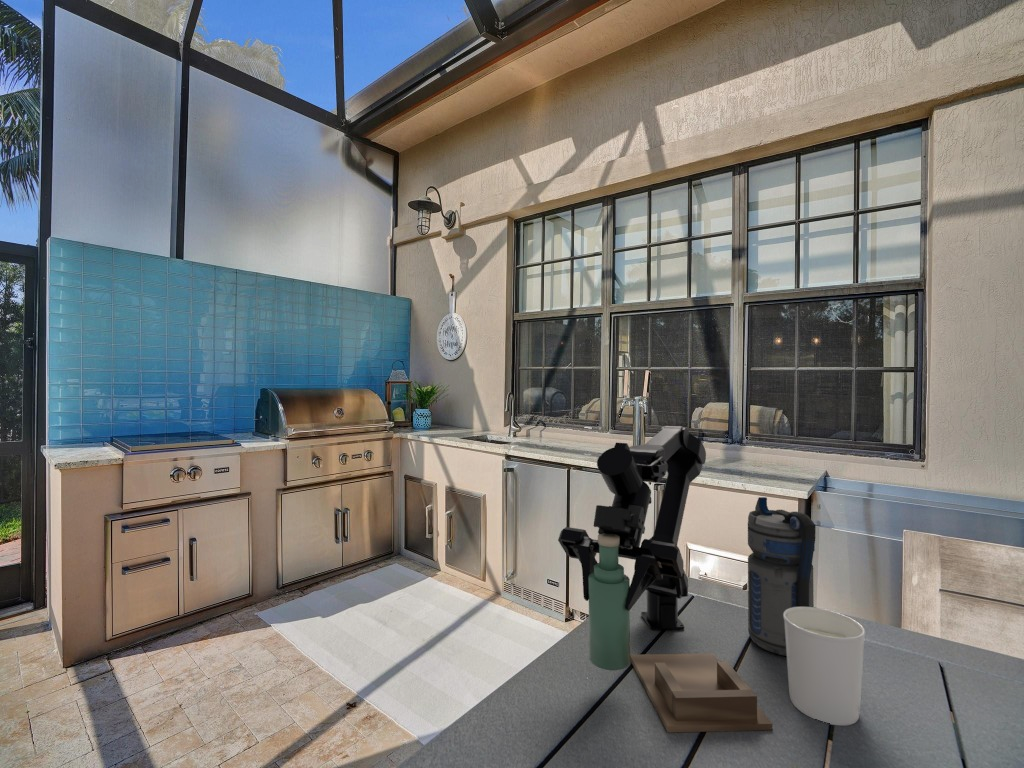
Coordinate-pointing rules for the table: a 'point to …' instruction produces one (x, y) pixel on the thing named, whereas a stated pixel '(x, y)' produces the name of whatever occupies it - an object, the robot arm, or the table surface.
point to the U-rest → (698, 693)
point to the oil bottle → (609, 608)
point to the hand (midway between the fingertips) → (605, 604)
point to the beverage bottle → (777, 571)
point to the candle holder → (824, 663)
